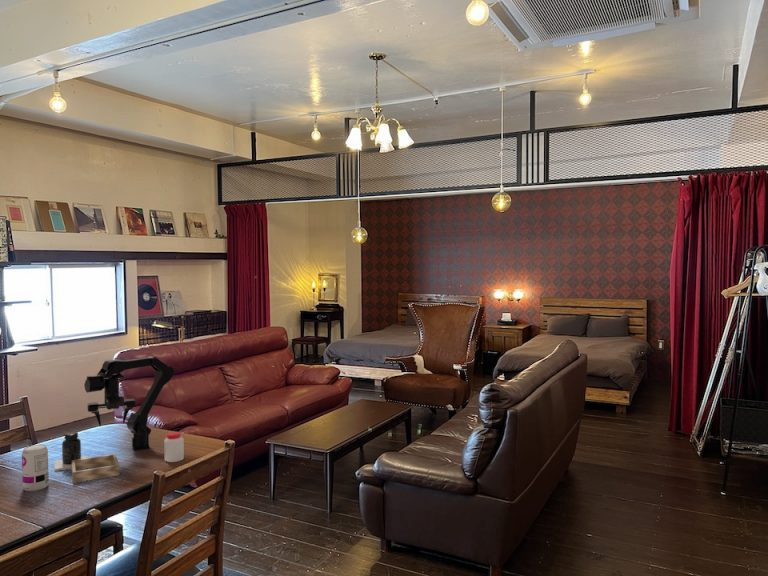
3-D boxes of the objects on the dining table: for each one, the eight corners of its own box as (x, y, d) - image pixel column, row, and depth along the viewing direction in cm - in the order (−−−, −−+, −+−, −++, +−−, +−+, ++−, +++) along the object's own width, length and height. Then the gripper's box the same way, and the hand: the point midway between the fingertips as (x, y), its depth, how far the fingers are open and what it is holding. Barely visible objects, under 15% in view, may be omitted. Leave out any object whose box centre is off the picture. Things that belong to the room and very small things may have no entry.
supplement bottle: (84, 461, 236) (83, 432, 235) (66, 466, 230) (66, 436, 230) (76, 458, 240) (76, 430, 240) (59, 462, 235) (58, 433, 234)
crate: (115, 463, 236) (115, 453, 236) (119, 475, 222) (119, 465, 222) (71, 470, 228) (71, 460, 228) (73, 483, 214) (72, 472, 214)
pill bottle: (187, 457, 244) (187, 431, 243) (175, 463, 236) (175, 436, 236) (172, 455, 246) (172, 430, 246) (160, 461, 239) (160, 435, 239)
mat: (86, 458, 243) (86, 455, 243) (88, 466, 233) (88, 463, 233) (54, 462, 237) (54, 460, 237) (54, 471, 227) (54, 469, 227)
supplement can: (21, 493, 205) (20, 452, 204) (24, 485, 212) (23, 446, 211) (47, 489, 208) (46, 448, 208) (49, 482, 216) (48, 442, 215)
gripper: (88, 394, 236) (88, 431, 236) (137, 390, 245) (137, 426, 246) (87, 389, 246) (87, 425, 246) (134, 385, 255) (134, 420, 255)
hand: (111, 424), depth 248 cm, fingers open, 9 cm apart
